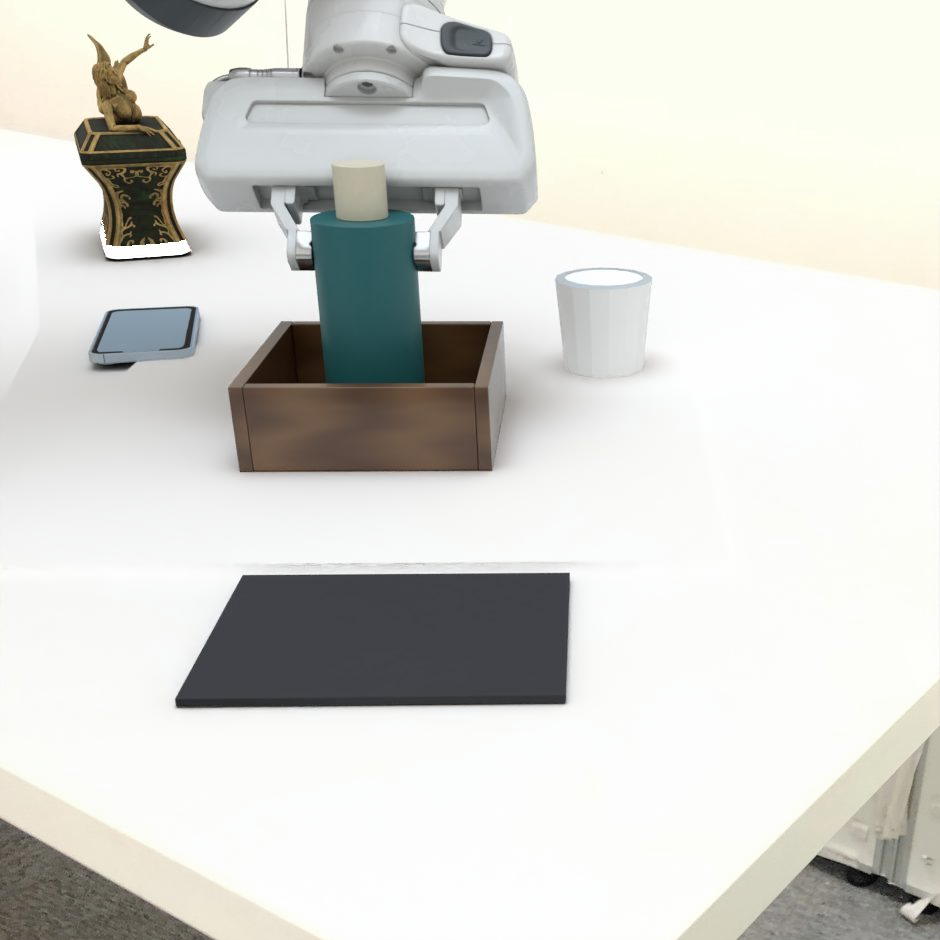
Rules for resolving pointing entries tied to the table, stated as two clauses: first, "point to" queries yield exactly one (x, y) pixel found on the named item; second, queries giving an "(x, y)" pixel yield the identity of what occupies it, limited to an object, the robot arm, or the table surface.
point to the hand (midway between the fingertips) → (365, 266)
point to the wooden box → (371, 406)
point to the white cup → (603, 320)
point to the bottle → (367, 281)
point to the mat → (386, 641)
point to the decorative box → (130, 159)
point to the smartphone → (145, 335)
